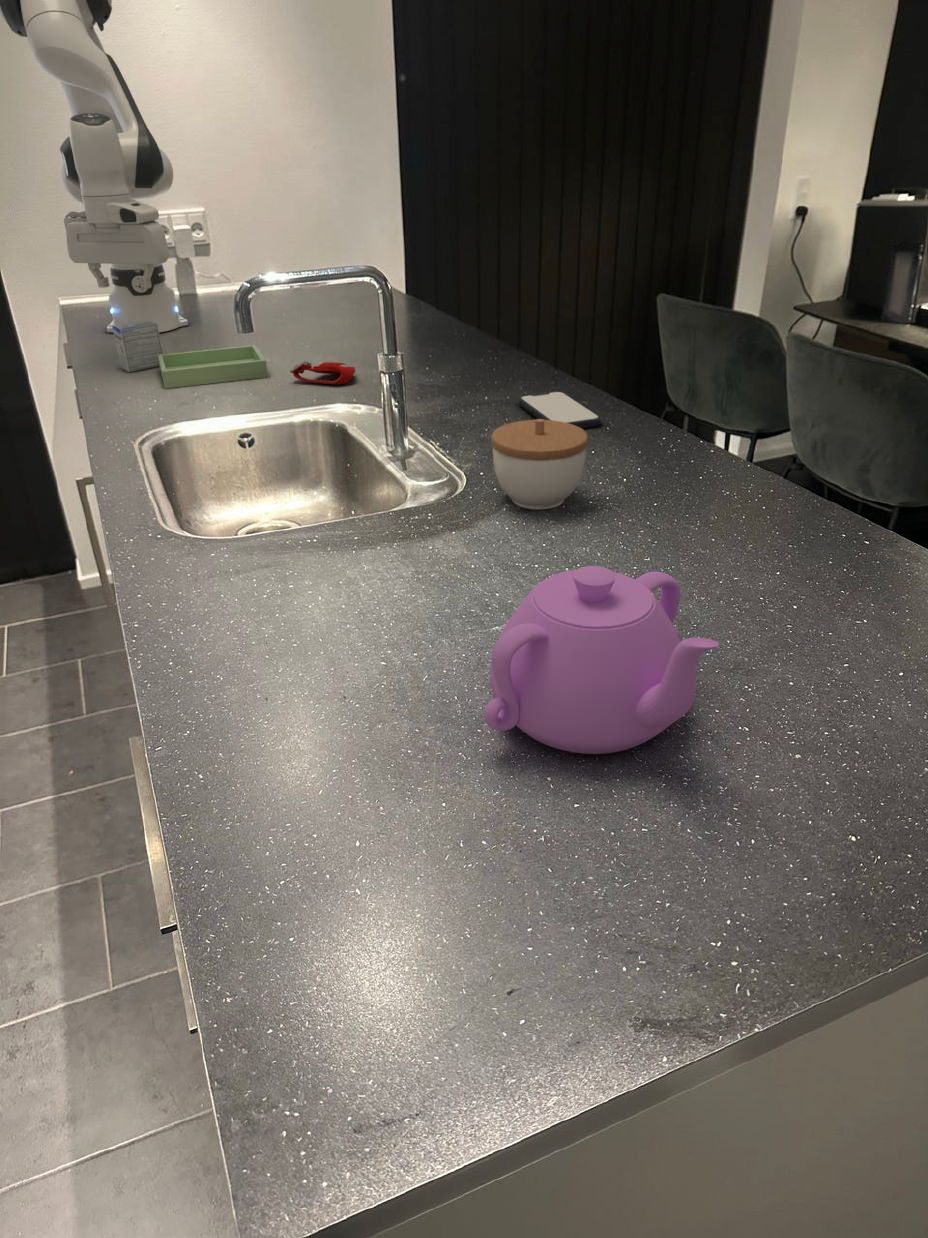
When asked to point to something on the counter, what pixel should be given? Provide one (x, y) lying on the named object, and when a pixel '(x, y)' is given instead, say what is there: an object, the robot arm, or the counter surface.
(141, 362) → the medicine box
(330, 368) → the tracker holder
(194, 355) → the tray
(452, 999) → the counter surface
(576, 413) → the phone case
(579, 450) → the lidded bowl
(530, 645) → the teapot
